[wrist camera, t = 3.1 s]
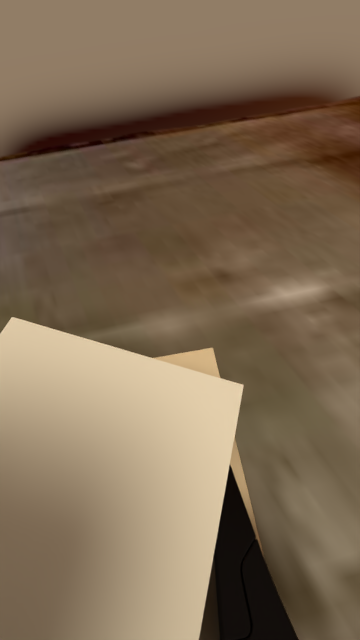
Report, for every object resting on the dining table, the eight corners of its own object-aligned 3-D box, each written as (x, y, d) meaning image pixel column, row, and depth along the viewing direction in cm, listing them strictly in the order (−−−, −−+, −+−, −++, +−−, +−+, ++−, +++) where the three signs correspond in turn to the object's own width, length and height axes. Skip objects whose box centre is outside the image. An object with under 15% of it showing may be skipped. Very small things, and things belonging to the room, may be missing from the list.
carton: (180, 520, 11) (149, 943, 2) (84, 481, 12) (-232, 666, 3) (207, 408, 13) (246, 383, 4) (123, 382, 14) (11, 314, 5)
